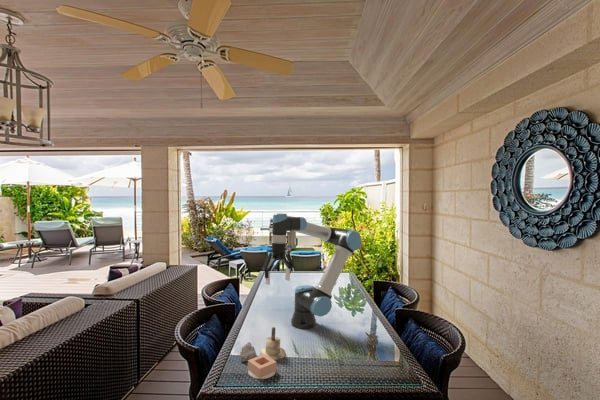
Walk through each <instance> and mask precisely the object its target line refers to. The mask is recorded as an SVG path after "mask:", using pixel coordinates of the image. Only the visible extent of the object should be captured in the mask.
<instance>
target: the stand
mask: <svg viewBox="0 0 600 400" xmlns="http://www.w3.org/2000/svg"><path fill="white" fill-rule="evenodd" d="M263 354H265V355H267V356H268V357H270V358H271V359H273V360H274V361H276V362H277V361H279V360H282V359H284V357H285V356H286V350H285V349H284V348H282V347H281V338H280V337H278V336H276V326H273V327H271V335H270V336H269V337H266V338H265V347H264V348H262V349H261V350H260V354H259V356H260V355H263Z"/></svg>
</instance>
